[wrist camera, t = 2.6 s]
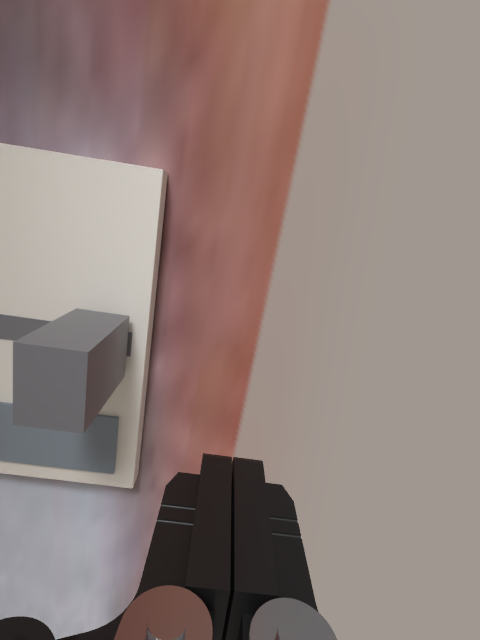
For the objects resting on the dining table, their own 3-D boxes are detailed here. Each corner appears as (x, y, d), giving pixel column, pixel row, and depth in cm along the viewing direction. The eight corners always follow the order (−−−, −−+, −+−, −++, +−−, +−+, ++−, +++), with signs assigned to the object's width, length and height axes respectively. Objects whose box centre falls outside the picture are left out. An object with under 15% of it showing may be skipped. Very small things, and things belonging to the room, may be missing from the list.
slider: (76, 308, 17) (12, 342, 12) (129, 316, 17) (88, 352, 12) (73, 369, 18) (12, 424, 13) (124, 376, 18) (83, 433, 13)
